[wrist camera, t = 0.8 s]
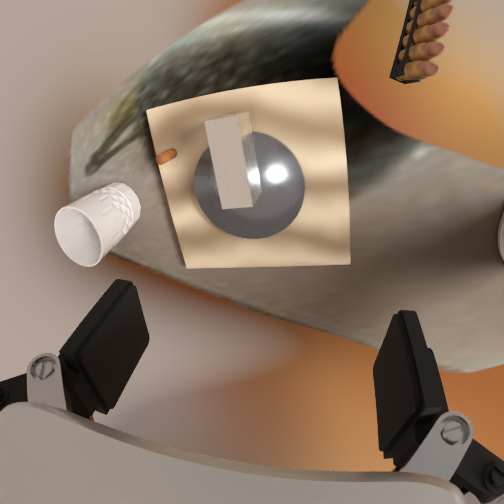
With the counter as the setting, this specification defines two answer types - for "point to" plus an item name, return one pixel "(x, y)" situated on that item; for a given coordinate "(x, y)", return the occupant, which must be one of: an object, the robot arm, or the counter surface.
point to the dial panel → (288, 132)
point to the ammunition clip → (421, 40)
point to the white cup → (96, 223)
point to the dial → (247, 179)
